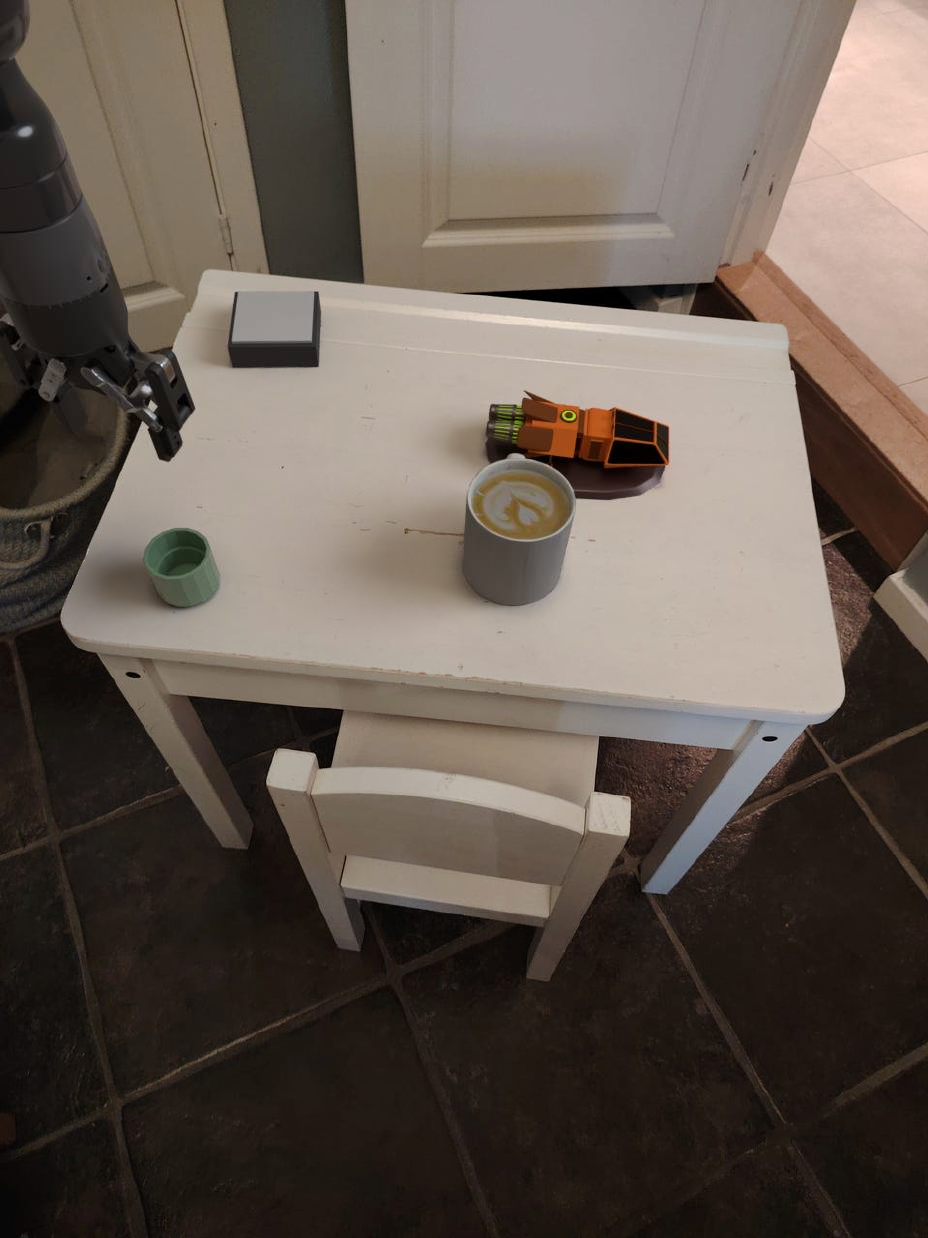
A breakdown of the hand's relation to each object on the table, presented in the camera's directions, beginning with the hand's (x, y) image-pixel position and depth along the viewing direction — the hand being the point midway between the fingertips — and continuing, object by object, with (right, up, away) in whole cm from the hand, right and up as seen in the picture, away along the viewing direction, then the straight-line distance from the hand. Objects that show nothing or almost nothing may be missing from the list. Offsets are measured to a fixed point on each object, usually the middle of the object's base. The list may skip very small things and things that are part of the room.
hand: (124, 440), depth 69 cm
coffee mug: (+33, -8, +16) cm, 38 cm away
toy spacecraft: (+40, +3, +23) cm, 47 cm away
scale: (+6, +19, +31) cm, 37 cm away
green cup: (+2, -11, +12) cm, 16 cm away
